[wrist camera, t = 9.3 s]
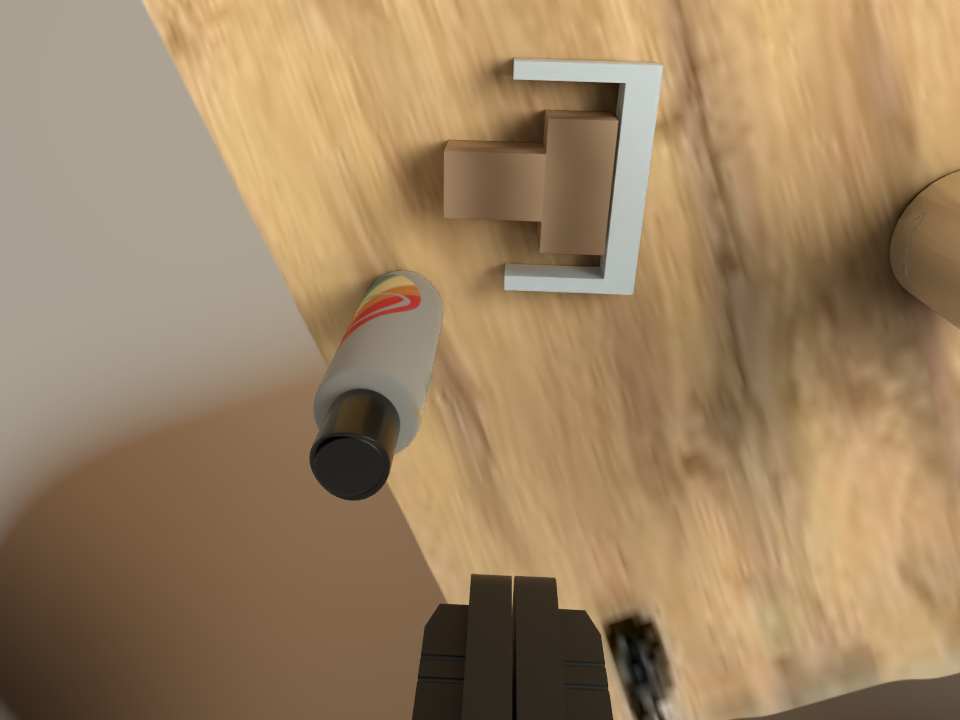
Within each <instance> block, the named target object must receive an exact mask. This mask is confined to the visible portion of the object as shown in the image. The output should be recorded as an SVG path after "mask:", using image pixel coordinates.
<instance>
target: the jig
mask: <svg viewBox="0 0 960 720" xmlns="http://www.w3.org/2000/svg"><path fill="white" fill-rule="evenodd" d="M662 71H663V65H661V64H658V63H655V62H626V61H594V60H562V59H529V58H514V69H513V79H516V80H548V81H579V82H611V83H619V92H618V101H617V110H616V119H617V120H618V130H617V139H616V149H615V158H614V167H613V176H612V185H611V194H610V204H609V213H608V222H607V231H606V240H605V249H604V255H601V259H600V267H590V266H563V265H536V264H509V263H505V273H504V290H518V291H545V292H571V293H597V294H624V295H633V290H634V282H635V275H636V267H637V260H638V252H639V245H640V237H641V230H642V222H643V214H644V207H645V199H646V192H647V184H648V177H649V169H650V162H651V154H652V146H653V139H654V131H655V124H656V116H657V109H658V101H659V94H660V86H661V79H662Z"/></svg>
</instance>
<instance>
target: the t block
mask: <svg viewBox="0 0 960 720" xmlns="http://www.w3.org/2000/svg"><path fill="white" fill-rule="evenodd" d="M617 130H618V120H617V119H616V118H615V117H614V116H613V115H612V114H611V113H610V112H599V111H568V110H545V120H544V135H543V143H531V142H501V141H470V140H449V141H448V143H447V145H446V147H445V150H444V218H454V219H483V220H512V221H538V229H537V237H538V245H539V252H540V253H553V254H581V255H604V249H605V240H606V231H607V222H608V213H609V204H610V194H611V185H612V176H613V167H614V158H615V149H616V139H617Z"/></svg>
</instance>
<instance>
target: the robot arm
mask: <svg viewBox="0 0 960 720" xmlns="http://www.w3.org/2000/svg"><path fill="white" fill-rule="evenodd" d="M890 263H891V267H892V270H893V273H894V276H895V277H896V279H897V280H898V282H899V283H900V285H901V286H902V287H903V288H904V289H906V290H907V291H908V292H909V293H910V294H912V295H913V296H914V297H916V298H917V299H919V300H920V301H921V302H923V303H924V304H926V305H927V306H929V307H930V308H931V309H933V310H934V311H936V312H937V313H938V314H939V315H941V316H942V317H944V318H945V319H946V320H948V321H949V322H951V323H952V324H954V325H955V326H956V327H958V328H959V329H960V171H957V172H955V173H952V174H949V175H947V176H945V177H943V178H941V179H939V180H938V181H936V182H934V183H932V184H931V185H930V186H928V187H927V188H926V189H925V190H923V191H922V192H921V193H920V194H918V196H917V197H916V198H915V199H914V200H913V201H912V202H911V203H910V204H909V205H908V206H907V208H906V209H905V211H904V212H903V214H902V216H901V217H900V219H899V220H898V222H897V225H896V227H895V230H894V232H893V235H892V239H891V245H890ZM412 720H613V715H612V708H611V701H610V694H609V691H608V681H607V674H606V668H605V660H604V653H603V647H602V640H601V634H600V633H599V631H598V630H597V628H596V627H595V625H594V623H593V622H592V620H591V619H590V617H589V616H588V614H587V612H586V611H585V610H566V609H558V597H557V586H556V579H555V578H547V577H526V576H515V578H514V591H513V607H512V578H511V576H500V575H479V574H471V585H470V599H469V605H457V604H440V605H439V606H438V608H437V609H436V611H435V612H434V613H433V615H432V617H431V618H430V620H429V621H428V623H427V624H426V626H425V629H424V636H423V643H422V651H421V659H420V666H419V673H418V682H417V687H416V695H415V702H414V709H413V716H412Z"/></svg>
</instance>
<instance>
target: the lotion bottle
mask: <svg viewBox="0 0 960 720" xmlns="http://www.w3.org/2000/svg"><path fill="white" fill-rule="evenodd" d="M442 320H443V303H442V299H441V296H440V294H439V292H438V290H437V289H436V287H435V286H434V285H433V284H432V283H431V282H430V281H429V280H428V279H426V278H425V277H423V276H421V275H419V274H417V273H414V272H410V271H394V272H390V273H387V274H385V275H383V276H381V277H380V278H378V279H377V280H376V281H375V282H374V283H373V284H372V285H371V286H370V288H369V289H368V291H367V293H366V294H365V296H364V298H363V300H362V302H361V304H360V306H359V308H358V310H357V312H356V314H355V316H354V318H353V320H352V322H351V324H350V326H349V328H348V330H347V332H346V334H345V336H344V338H343V340H342V342H341V344H340V346H339V348H338V350H337V352H336V354H335V356H334V358H333V360H332V362H331V364H330V366H329V368H328V370H327V372H326V374H325V376H324V378H323V380H322V382H321V384H320V386H319V388H318V391H317V393H316V397H315V400H314V418H315V421H316V424H317V426H318V429H319V432H318V435H317V437H316V439H315V441H314V443H313V446H312V448H311V451H310V465H311V469H312V471H313V474H314V476H315V477H316V479H317V480H318V482H319V483H320V484H321V485H322V486H323V487H324V488H325V489H326V490H327V491H328V492H330V493H331V494H333V495H335V496H336V497H339V498H341V499H345V500H352V501H353V500H361V499H365V498H368V497H370V496H372V495H374V494H375V493H376V492H378V491H379V490H380V489H381V487H382V486H383V485H384V484H385V482H386V480H387V478H388V476H389V473H390V469H391V465H392V461H393V457H394V455H395V454H397V453H399V452H401V451H402V450H403V449H405V448H406V447H407V446H408V445H409V444H410V443H411V442H412V440H413V439H414V437H415V436H416V434H417V432H418V429H419V426H420V423H421V419H422V415H423V410H424V406H425V401H426V396H427V392H428V387H429V382H430V377H431V373H432V368H433V363H434V358H435V354H436V349H437V344H438V340H439V335H440V330H441V325H442Z"/></svg>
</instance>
